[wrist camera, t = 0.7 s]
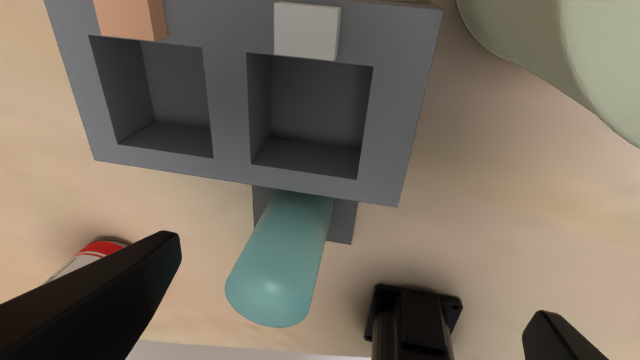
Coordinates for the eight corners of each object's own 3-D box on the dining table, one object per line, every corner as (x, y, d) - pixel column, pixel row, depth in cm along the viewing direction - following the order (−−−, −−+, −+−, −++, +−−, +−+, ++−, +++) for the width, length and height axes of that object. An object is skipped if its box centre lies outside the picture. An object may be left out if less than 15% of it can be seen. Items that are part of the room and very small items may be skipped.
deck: (351, 239, 24) (350, 244, 23) (256, 223, 25) (254, 228, 24) (362, 172, 21) (361, 177, 20) (254, 156, 22) (251, 160, 21)
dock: (395, 170, 20) (398, 219, 16) (138, 133, 22) (80, 168, 18) (431, 4, 16) (448, 12, 12) (103, -25, 18) (12, -27, 13)
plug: (330, 230, 23) (307, 334, 16) (274, 220, 23) (228, 318, 17) (336, 180, 21) (311, 275, 14) (274, 171, 21) (221, 259, 14)
